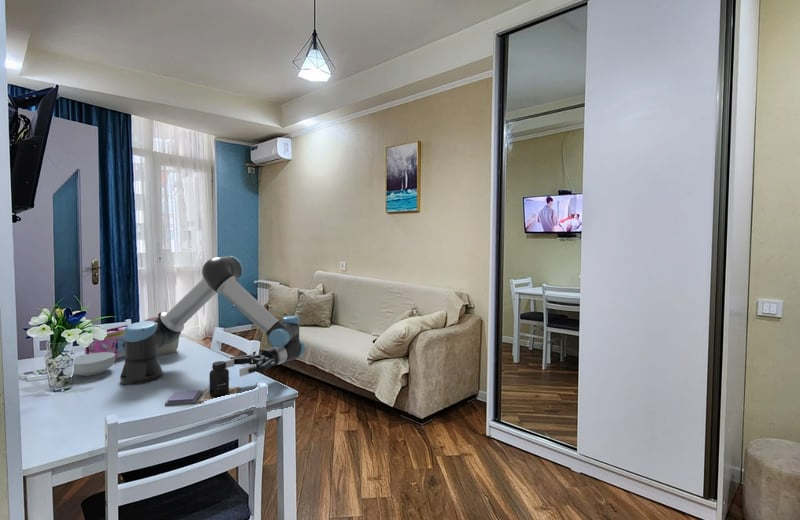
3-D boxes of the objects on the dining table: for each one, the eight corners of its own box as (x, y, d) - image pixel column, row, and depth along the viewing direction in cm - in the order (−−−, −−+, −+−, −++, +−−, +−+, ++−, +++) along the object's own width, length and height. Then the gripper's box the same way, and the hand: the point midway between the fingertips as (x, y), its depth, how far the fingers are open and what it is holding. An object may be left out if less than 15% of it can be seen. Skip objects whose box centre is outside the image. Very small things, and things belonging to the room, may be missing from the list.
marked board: (197, 403, 149) (197, 401, 149) (206, 391, 161) (205, 388, 161) (233, 401, 152) (233, 398, 152) (239, 388, 164) (239, 386, 164)
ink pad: (164, 405, 147) (164, 401, 147) (174, 395, 157) (173, 391, 157) (195, 403, 149) (195, 399, 149) (202, 393, 159) (202, 389, 159)
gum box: (94, 365, 192) (93, 336, 191) (81, 363, 194) (80, 335, 193) (139, 351, 215) (138, 325, 214) (127, 350, 217) (126, 324, 216)
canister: (188, 347, 223) (188, 309, 222) (172, 357, 205) (171, 315, 204) (154, 347, 222) (153, 309, 221) (134, 357, 204) (133, 315, 203)
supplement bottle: (221, 398, 153) (221, 366, 152) (205, 396, 154) (204, 364, 153) (233, 391, 159) (232, 360, 159) (217, 389, 161) (216, 359, 160)
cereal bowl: (86, 367, 189) (85, 352, 189) (123, 366, 190) (123, 351, 190) (57, 380, 172) (56, 363, 172) (99, 379, 173) (98, 363, 173)
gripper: (293, 370, 170) (249, 385, 153) (255, 360, 184) (210, 373, 166) (293, 352, 170) (249, 365, 152) (254, 343, 184) (210, 354, 166)
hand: (229, 369), depth 159 cm, fingers open, 13 cm apart
